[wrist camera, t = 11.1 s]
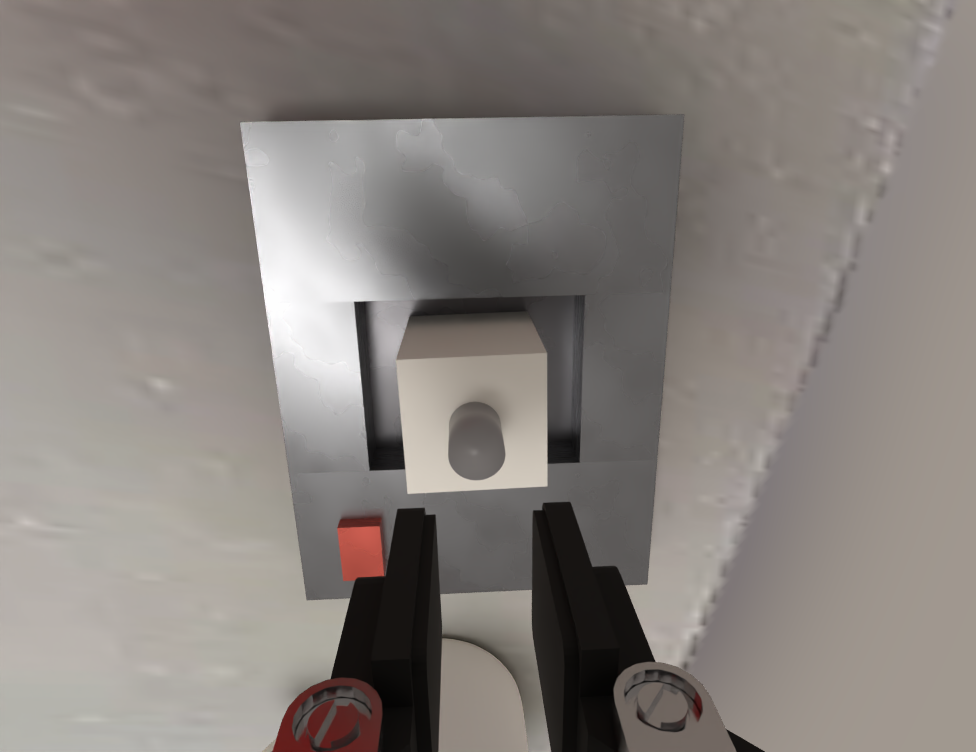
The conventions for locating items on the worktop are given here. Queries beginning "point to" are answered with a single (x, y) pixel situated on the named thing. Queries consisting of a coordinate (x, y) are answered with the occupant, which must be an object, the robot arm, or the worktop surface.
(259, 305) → the worktop surface
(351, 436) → the socket
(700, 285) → the worktop surface
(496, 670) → the cup
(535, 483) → the plug
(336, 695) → the robot arm
